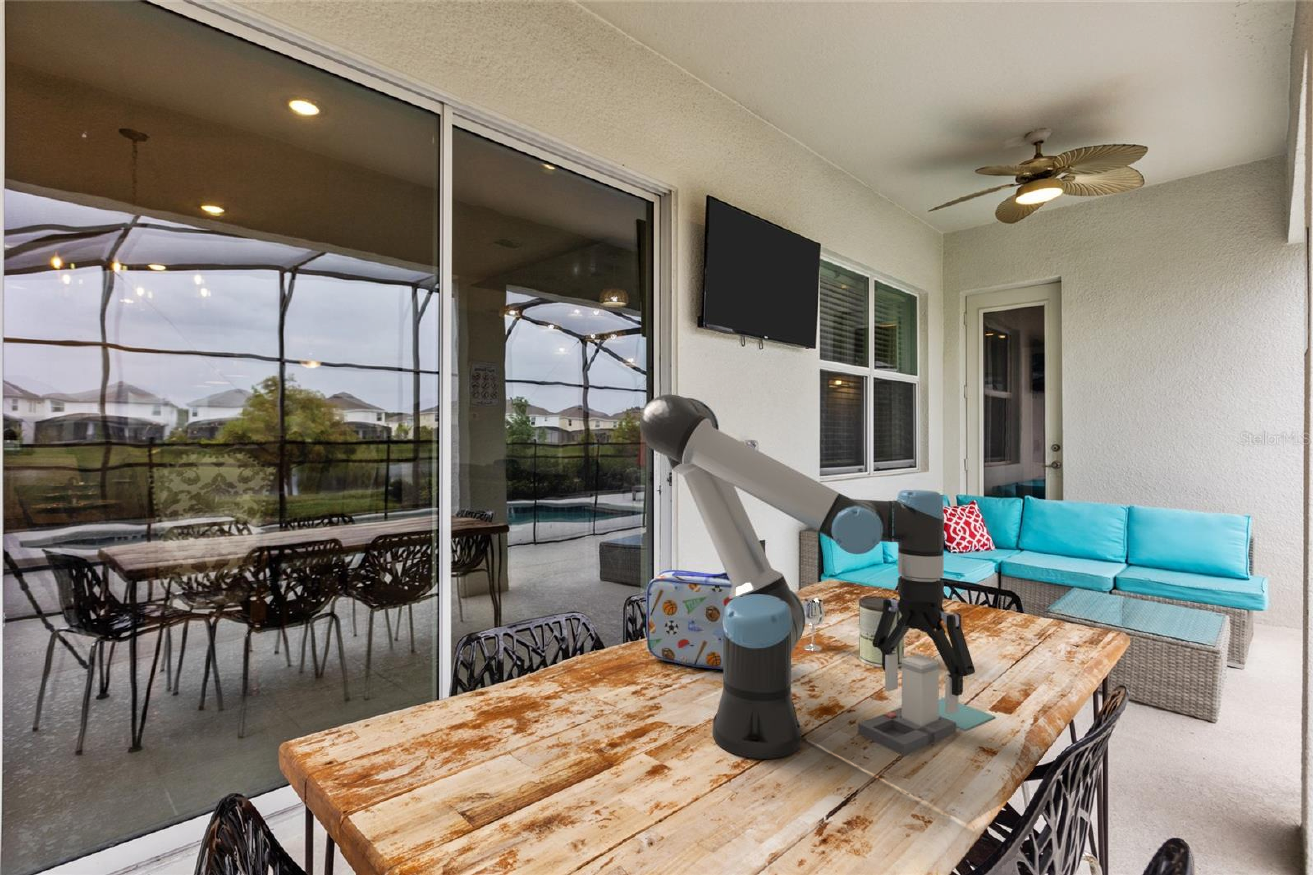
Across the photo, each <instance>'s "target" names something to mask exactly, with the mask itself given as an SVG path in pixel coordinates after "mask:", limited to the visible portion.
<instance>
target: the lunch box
mask: <svg viewBox="0 0 1313 875" xmlns="http://www.w3.org/2000/svg"><path fill="white" fill-rule="evenodd" d="M731 588H732V585H731V582H730V580H729V578H728V576H727V573H726V571H725V572H722V573H709V572H700V571H699V572H698V571H692V570H691V571H690V570H683V569H682V570H681V569H680V570H679V569H669V570H664V571H661V572H660V573H659V574H658V575H657V577H655V578H653V579H651V581H649V583H648V585H647V587H646V590H645V591H646V592H645V593H646V594H645V600H646V601H645V602H646V647H647V648H648V652H649V653H650V654H651V655H652V656H653V657H654V658H656V659H659V660H663V661H665V662H671V663H676V664H681V665H685V666H691V667H694V668H707V669H714V670H715V669H716V670H723V645H724V630H723V618H724V611H725V607H726V605H727V604H728V603H729V602H730V599H729V594H730V591H731Z"/></svg>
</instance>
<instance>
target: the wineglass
mask: <svg viewBox="0 0 1313 875" xmlns="http://www.w3.org/2000/svg"><path fill="white" fill-rule="evenodd" d="M802 605H803V607H804V611H805V625H807V626H810V627H811V628H810V632H811V643H810V644H806V645H804V646H803V649H804V650H807V651H810V652H820V651H822V650H823V648H822V646H819V645H816V644H815V639H814V638H815V632H816V629H815V627H817V626H820V625H821V624H823V622H824V621H825V616H826V615H825V613H826V611H825V606H824V602H823V600H822V599H820V598H815V597H814V598H813V597H807V598H803V600H802Z"/></svg>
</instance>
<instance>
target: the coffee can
mask: <svg viewBox="0 0 1313 875" xmlns="http://www.w3.org/2000/svg"><path fill="white" fill-rule="evenodd" d="M890 598H891V597H886V596H863V597H861V598H859V599H858V605H859V606H858V608H859V609H858V613H859V614H858V617H859V618H858V622H859V623H858V629H859V630H858V632H859V634H858V637H859V641H858V643H859V645H858V648H859V649H858V651H859V652H858V654H859V655H858V659H859V661H861V663H863V664H865V665H868V666H871V667H875V668H882V652H881V650H880V649H878V648H877V647H874V646H873V644H872V642H873V639H874V637H875V634H876V631H877V628H878V625H879V622H880V619H881V616H882V613H883V601H884V600H885V599H890ZM895 599H896V598H895ZM896 600H897V601H899V599H896ZM901 617H902V615H901V613H900V611H899V609H898V610H897V612H896V616H895V618H894V621H893V624H892V627H891V630H890V633H889V636H890V634H891V633H892V631H893V630H894V629H895V627H896V626H897V622H898V621H899V619H900V618H901ZM889 636H888V637H889ZM894 650H895V651H892V653H894V652H895V653H898V668H902V667H901V662H902V659H904V658H905V636H904V637H903V638H902V640H901V641H900V642H899V644H898V645H897V647H896V648H895V649H894ZM882 669H883V668H882Z"/></svg>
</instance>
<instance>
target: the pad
mask: <svg viewBox="0 0 1313 875" xmlns="http://www.w3.org/2000/svg"><path fill="white" fill-rule="evenodd" d="M939 716H941V717H943V718H946V719H948V720H951V721H953V722H956V729H959V730H962V731H963V732H964V731H965V732H966V731H968V730H971V729H973V728H975V727H977V726H980V725H982V724H985V723H986V722H988V721H992V720H993V719H995V718H996V716H995V715H992V714H990V713H987V712H985V711H982V710H979V709H977V708H973V707H972V706H971V707H970V706H968V705H965V704H962V703H960V702H958V712H956V713H954V714H951V715H948V714H945V697H942V698H939Z"/></svg>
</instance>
